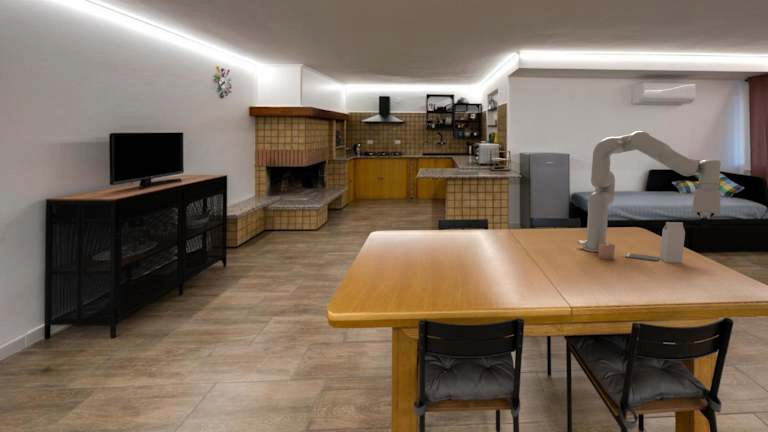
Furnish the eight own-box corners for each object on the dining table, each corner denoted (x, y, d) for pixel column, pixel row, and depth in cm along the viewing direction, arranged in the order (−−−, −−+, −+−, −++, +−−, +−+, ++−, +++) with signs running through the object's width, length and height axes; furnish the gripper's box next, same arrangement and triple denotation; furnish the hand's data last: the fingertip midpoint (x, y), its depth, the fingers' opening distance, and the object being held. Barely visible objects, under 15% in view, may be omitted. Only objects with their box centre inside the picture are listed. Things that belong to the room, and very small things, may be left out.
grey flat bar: (625, 257, 225) (625, 256, 225) (627, 254, 231) (627, 252, 231) (657, 261, 216) (657, 260, 216) (659, 258, 223) (659, 256, 223)
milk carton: (682, 263, 213) (686, 223, 210) (665, 262, 215) (669, 223, 212) (675, 259, 220) (679, 221, 217) (659, 258, 222) (663, 220, 219)
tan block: (596, 258, 223) (597, 244, 222) (599, 255, 228) (600, 242, 227) (612, 260, 219) (613, 246, 218) (615, 257, 224) (616, 244, 223)
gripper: (688, 187, 206) (684, 226, 209) (728, 188, 198) (724, 229, 201) (688, 185, 212) (685, 223, 215) (728, 187, 204) (724, 226, 207)
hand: (704, 226), depth 208 cm, fingers closed
